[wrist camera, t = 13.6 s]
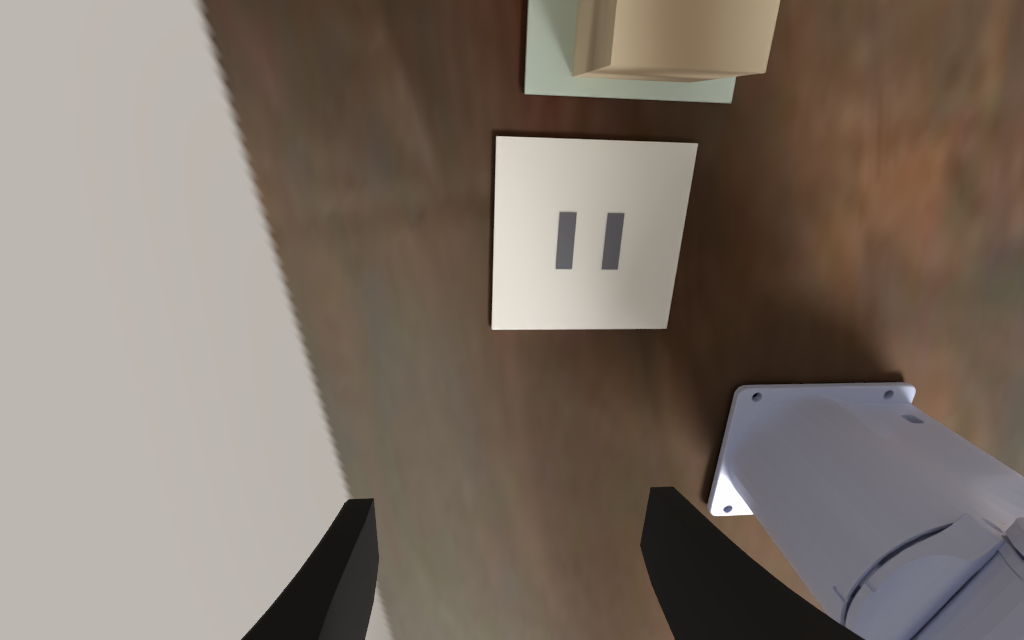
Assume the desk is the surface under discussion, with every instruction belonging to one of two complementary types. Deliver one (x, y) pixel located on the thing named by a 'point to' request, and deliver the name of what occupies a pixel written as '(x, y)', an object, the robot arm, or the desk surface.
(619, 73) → the maple block
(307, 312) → the desk surface
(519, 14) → the desk surface
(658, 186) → the tile
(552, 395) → the desk surface
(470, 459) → the desk surface
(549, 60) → the sage coaster
